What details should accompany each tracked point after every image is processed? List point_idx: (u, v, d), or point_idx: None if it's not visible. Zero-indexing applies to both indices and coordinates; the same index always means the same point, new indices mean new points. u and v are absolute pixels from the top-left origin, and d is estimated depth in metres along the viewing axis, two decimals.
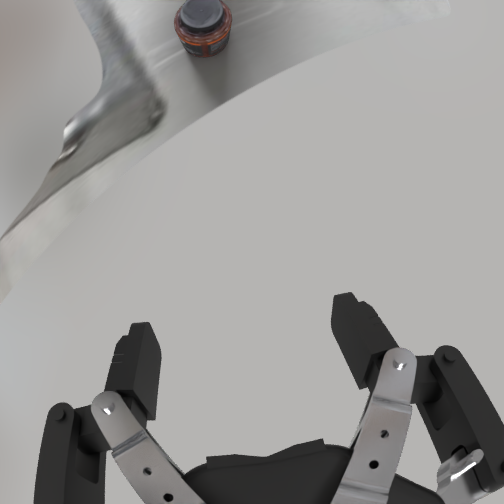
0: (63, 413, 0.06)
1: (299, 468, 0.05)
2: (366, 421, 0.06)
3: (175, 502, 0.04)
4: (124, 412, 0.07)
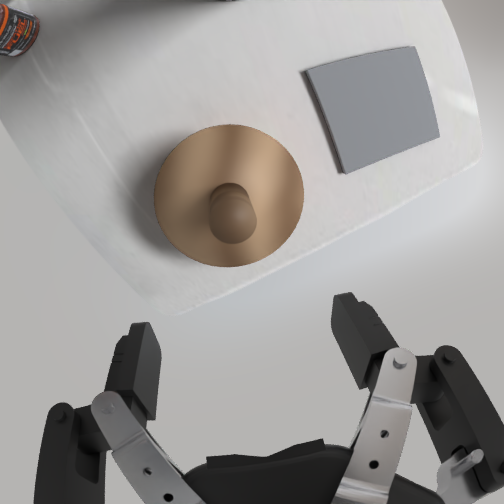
0: (63, 413, 0.06)
1: (299, 468, 0.05)
2: (366, 421, 0.06)
3: (175, 502, 0.04)
4: (124, 412, 0.07)
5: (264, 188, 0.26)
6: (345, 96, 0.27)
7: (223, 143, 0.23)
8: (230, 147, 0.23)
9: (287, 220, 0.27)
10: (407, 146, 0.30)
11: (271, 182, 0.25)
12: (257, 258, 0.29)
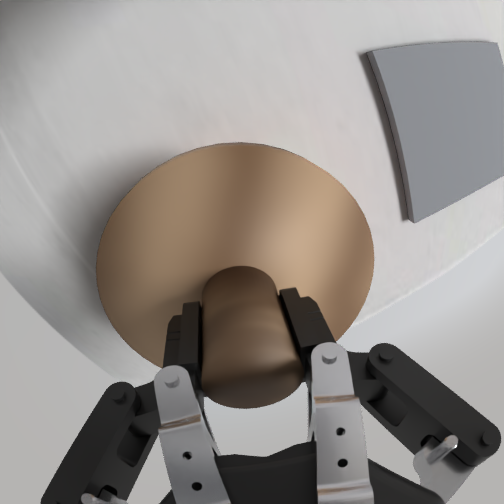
0: (123, 394, 0.07)
1: (299, 468, 0.05)
2: (317, 425, 0.06)
3: (201, 493, 0.04)
4: (192, 384, 0.08)
5: (307, 273, 0.13)
6: (425, 101, 0.15)
7: (228, 186, 0.11)
8: (242, 194, 0.11)
9: (339, 319, 0.15)
10: (486, 181, 0.18)
11: (321, 262, 0.13)
12: None
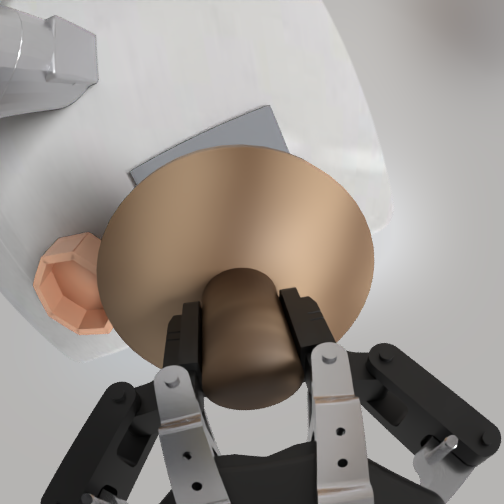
0: (123, 394, 0.07)
1: (299, 468, 0.05)
2: (317, 425, 0.06)
3: (201, 493, 0.04)
4: (192, 384, 0.08)
5: (307, 275, 0.13)
6: None
7: (228, 188, 0.11)
8: (242, 196, 0.11)
9: (338, 320, 0.15)
10: None
11: (321, 264, 0.13)
12: None
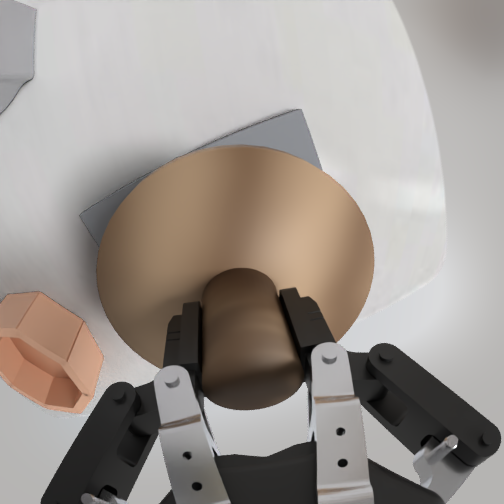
0: (123, 394, 0.07)
1: (299, 468, 0.05)
2: (317, 425, 0.06)
3: (201, 493, 0.04)
4: (193, 384, 0.08)
5: (307, 275, 0.13)
6: None
7: (228, 188, 0.11)
8: (242, 196, 0.11)
9: (339, 320, 0.15)
10: None
11: (321, 264, 0.13)
12: None
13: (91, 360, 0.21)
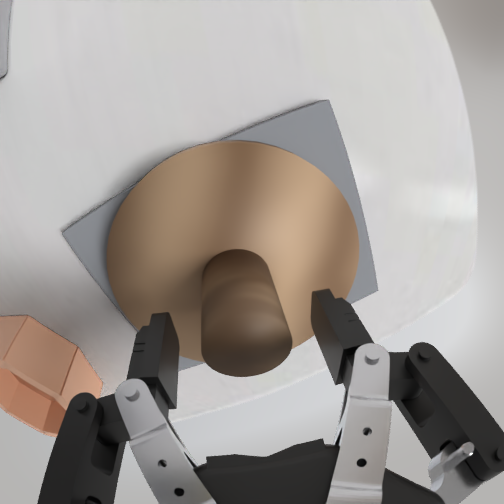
0: (85, 403, 0.07)
1: (299, 468, 0.05)
2: (346, 421, 0.06)
3: (185, 497, 0.04)
4: (150, 399, 0.07)
5: (297, 257, 0.15)
6: None
7: (225, 177, 0.12)
8: (238, 184, 0.13)
9: None
10: None
11: (309, 247, 0.15)
12: None
13: (88, 389, 0.18)
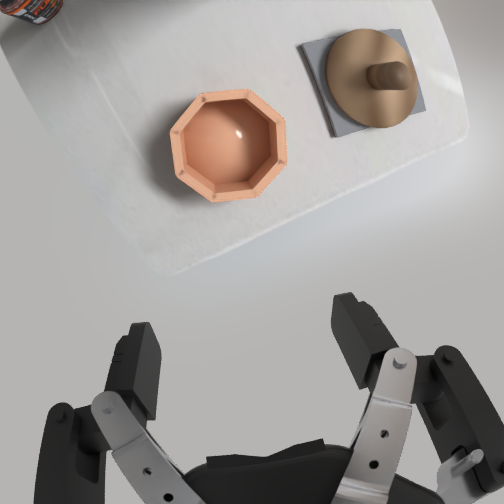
0: (63, 413, 0.06)
1: (299, 468, 0.05)
2: (366, 421, 0.06)
3: (175, 502, 0.04)
4: (124, 412, 0.07)
5: None
6: None
7: (375, 40, 0.26)
8: (379, 43, 0.26)
9: (409, 101, 0.30)
10: None
11: None
12: (390, 124, 0.32)
13: None
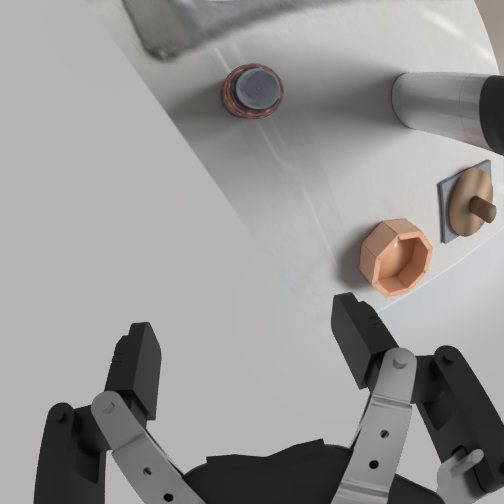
0: (63, 413, 0.06)
1: (299, 468, 0.05)
2: (366, 421, 0.06)
3: (175, 502, 0.04)
4: (124, 412, 0.07)
5: (483, 199, 0.41)
6: None
7: (478, 177, 0.39)
8: (479, 179, 0.39)
9: None
10: None
11: (485, 197, 0.41)
12: (473, 232, 0.45)
13: None
